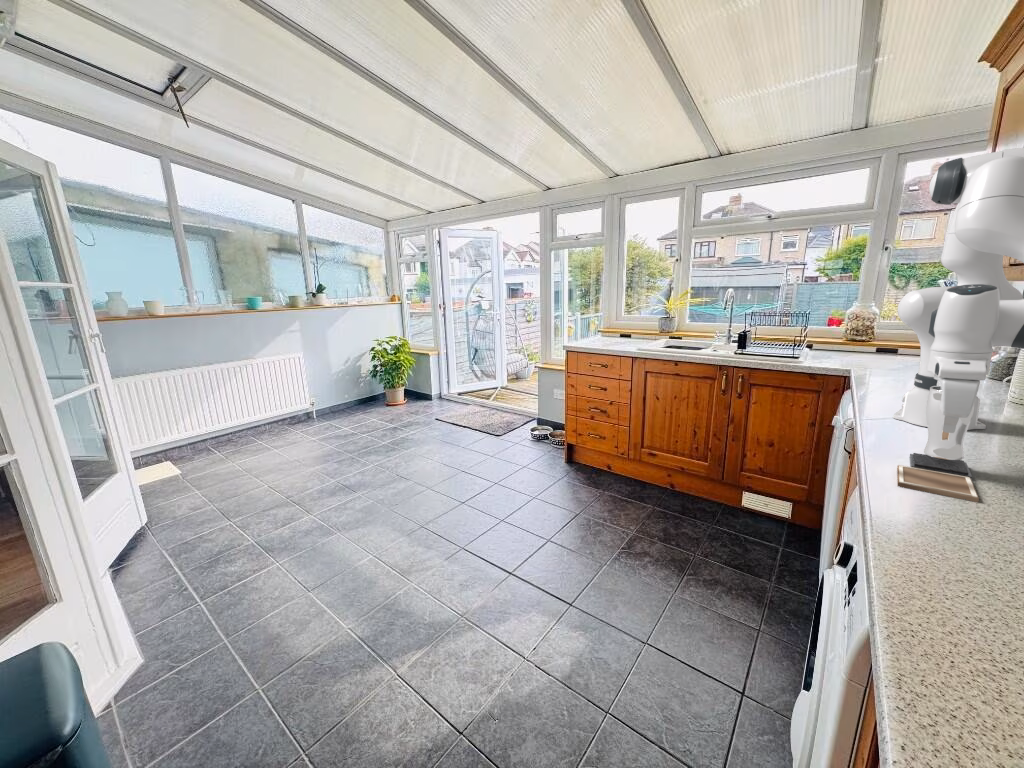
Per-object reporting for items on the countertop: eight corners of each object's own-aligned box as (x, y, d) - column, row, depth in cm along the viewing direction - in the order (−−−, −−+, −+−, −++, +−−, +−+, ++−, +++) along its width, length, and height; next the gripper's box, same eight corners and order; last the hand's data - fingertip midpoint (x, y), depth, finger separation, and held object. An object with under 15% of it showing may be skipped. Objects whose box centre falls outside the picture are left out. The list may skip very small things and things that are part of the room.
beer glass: (976, 461, 86) (986, 391, 83) (936, 461, 87) (945, 392, 85) (949, 449, 92) (957, 384, 90) (912, 449, 94) (920, 385, 91)
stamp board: (897, 468, 92) (897, 464, 91) (970, 481, 84) (970, 477, 84) (897, 486, 84) (898, 481, 84) (978, 502, 76) (979, 497, 76)
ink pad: (909, 457, 97) (910, 451, 97) (965, 466, 91) (966, 460, 91) (910, 470, 91) (911, 463, 90) (971, 481, 85) (972, 474, 84)
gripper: (932, 356, 96) (923, 413, 98) (940, 370, 81) (928, 437, 84) (972, 358, 91) (961, 418, 94) (988, 373, 77) (974, 443, 79)
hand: (946, 427), depth 89 cm, fingers closed on beer glass, 6 cm apart
